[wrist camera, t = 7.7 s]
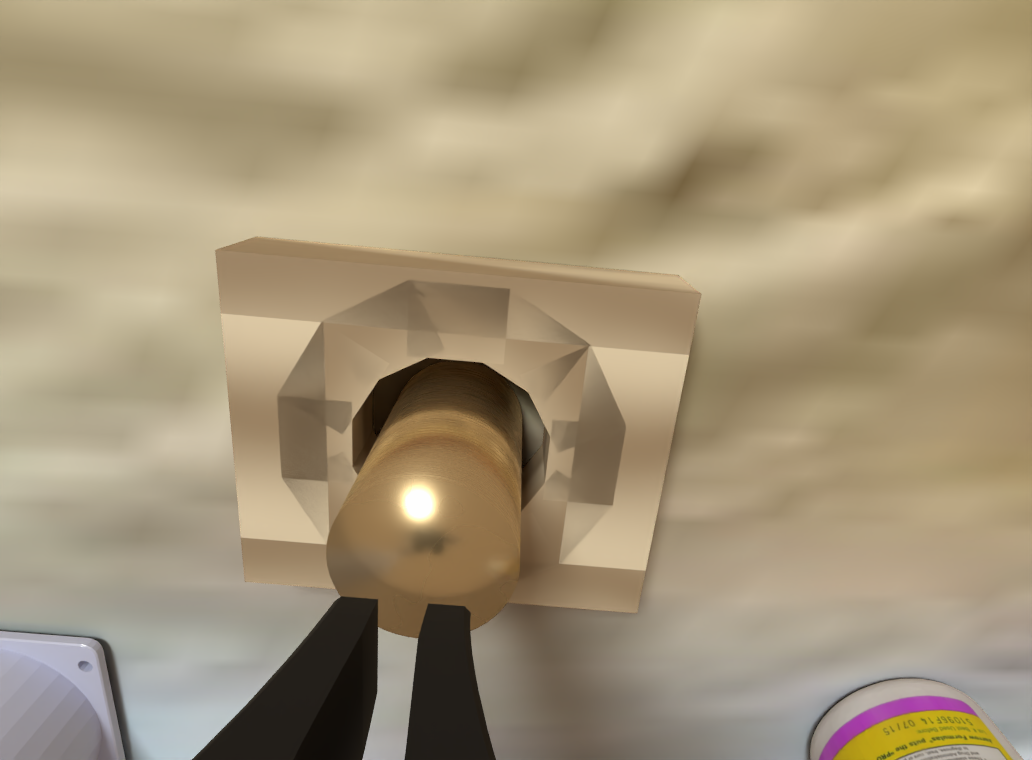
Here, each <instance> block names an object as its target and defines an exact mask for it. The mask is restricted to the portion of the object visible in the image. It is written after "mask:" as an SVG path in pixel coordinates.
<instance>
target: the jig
mask: <svg viewBox="0 0 1032 760" xmlns="http://www.w3.org/2000/svg"><path fill="white" fill-rule="evenodd" d="M215 252H216V263H217V274H218V285H219V297H220V308H221V319H222V330H223V342H224V353H225V364H226V375H227V387H228V398H229V409H230V420H231V432H232V443H233V454H234V465H235V477H236V488H237V499H238V510H239V522H240V533H241V544H242V555H243V567H244V578H245V582H255V583H268V584H280V585H293V586H305V587H317V588H330V589H336V588H335V586H334V584H333V582H332V580H331V577H330V574H329V571H328V567H327V560H326V544H327V539H328V534H329V532H330V529H331V527H332V524H333V522H334V520H335V518H336V516H337V514H338V513H339V511H340V509H341V507H342V505H343V503H344V501H345V499H346V497H347V495H348V493H349V491H350V489H351V488H352V486H353V484H354V482H355V480H356V478H357V476H358V474H359V472H360V470H361V468H362V466H363V464H364V463H365V461H366V459H367V457H368V455H369V453H370V451H371V449H372V447H373V445H374V443H375V441H376V439H377V436H376V434H375V433H374V431H373V388H374V386H375V385H376V383H377V382H378V380H379V379H381V378H383V377H386V376H388V375H390V374H392V373H395V372H397V371H399V370H401V369H404V368H406V367H408V366H410V365H412V364H415V363H417V362H419V361H421V360H424V359H426V358H436V359H448V360H459V361H470V362H482V363H484V364H486V365H487V366H489V367H490V368H492V369H494V370H495V371H497V372H498V373H500V374H501V375H503V376H504V377H506V378H507V379H509V380H510V381H512V382H513V383H515V384H516V385H518V386H519V387H521V388H522V389H524V390H525V391H527V392H528V393H529V395H530V397H531V399H532V401H533V403H534V405H535V407H536V409H537V411H538V413H539V415H540V417H541V419H542V421H543V423H544V425H545V427H544V436H543V444H542V446H541V447H540V448H539V449H538V451H537V452H536V453H535V454H534V456H533V457H532V458H531V459H530V460H529V462H528V463H527V464H526V465H525V467H524V468H523V469H522V472H521V532H520V572H519V578H518V582H517V585H516V588H515V590H514V592H513V594H512V596H511V598H510V600H509V601H508V602H507V603H516V604H528V605H541V606H553V607H566V608H578V609H590V610H603V611H615V612H628V613H637V611H638V606H639V601H640V596H641V591H642V586H643V581H644V576H645V571H646V566H647V561H648V556H649V552H650V547H651V542H652V537H653V532H654V527H655V522H656V517H657V512H658V507H659V502H660V497H661V492H662V487H663V482H664V477H665V472H666V467H667V462H668V457H669V452H670V447H671V442H672V438H673V433H674V428H675V423H676V418H677V413H678V408H679V403H680V398H681V393H682V388H683V383H684V378H685V373H686V368H687V363H688V358H689V353H690V348H691V343H692V338H693V333H694V328H695V324H696V319H697V314H698V309H699V304H700V299H701V293H699V292H698V291H697V290H696V289H695V288H693V287H692V286H691V285H690V284H688V283H687V282H686V281H685V280H684V279H682V278H681V277H680V276H679V275H670V274H659V273H648V272H637V271H626V270H615V269H604V268H593V267H582V266H571V265H560V264H549V263H538V262H527V261H517V260H506V259H495V258H484V257H473V256H462V255H451V254H440V253H429V252H418V251H407V250H396V249H385V248H374V247H363V246H352V245H341V244H330V243H320V242H309V241H298V240H287V239H276V238H265V237H254V238H251V239H248V240H245V241H241V242H238V243H235V244H232V245H229V246H226V247H223V248H220V249H217V250H215Z"/></svg>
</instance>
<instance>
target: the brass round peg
mask: <svg viewBox="0 0 1032 760" xmlns="http://www.w3.org/2000/svg"><path fill="white" fill-rule="evenodd" d="M521 472H522V411H521V407H520V403H519V401H518V398H517V396H516V394H515V393H514V391H513V389H512V388H511V387H510V385H509V384H508V383H507V382H506V381H505V380H504V379H503V378H502V377H501V376H500V375H498V374H497V373H495V372H494V371H492V370H491V369H489V368H487V367H485V366H482V365H480V364H476V363H473V362H468V361H454V360H453V361H444V362H440V363H436V364H433V365H431V366H428V367H426V368H425V369H423V370H421V371H420V372H418V373H417V374H415V375H414V376H413V377H412V378H411V379H410V380H409V381H408V383H407V384H406V385H405V386H404V388H403V390H402V392H401V393H400V395H399V397H398V399H397V401H396V403H395V405H394V407H393V409H392V411H391V412H390V414H389V416H388V418H387V420H386V422H385V424H384V426H383V428H382V430H381V432H380V434H379V436H378V438H377V439H376V441H375V443H374V445H373V447H372V449H371V451H370V453H369V455H368V457H367V459H366V461H365V463H364V464H363V466H362V468H361V470H360V472H359V474H358V476H357V478H356V480H355V482H354V484H353V486H352V488H351V489H350V491H349V493H348V495H347V497H346V499H345V501H344V503H343V505H342V507H341V509H340V511H339V513H338V514H337V516H336V518H335V520H334V522H333V524H332V527H331V529H330V532H329V534H328V539H327V544H326V560H327V567H328V571H329V574H330V577H331V580H332V582H333V584H334V586H335V588H336V590H337V591H338V593H339V595H340V596H344V597H356V598H369V599H378V627H380V628H382V629H384V630H386V631H389V632H392V633H395V634H398V635H403V636H407V637H413V638H418V637H419V633H420V630H421V626H422V622H423V619H424V615H425V612H426V609H427V605H428V603H431V604H443V605H456V606H465V607H466V608H467V609H468V610H469V611H470V612H471V618H470V631H471V630H474V629H476V628H478V627H480V626H482V625H483V624H485V623H487V622H488V621H489V620H491V619H492V618H493V617H495V616H496V615H497V614H498V613H499V612H500V611H501V610H502V609H503V608H504V606H505V605H506V604H507V602H508V601H509V600H510V598H511V596H512V594H513V592H514V590H515V588H516V585H517V582H518V578H519V572H520V532H521Z"/></svg>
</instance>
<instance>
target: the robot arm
mask: <svg viewBox="0 0 1032 760" xmlns="http://www.w3.org/2000/svg"><path fill="white" fill-rule="evenodd" d="M470 618H471V612H470V611H469V610H468V609H467V608H466V607H465V606H456V605H443V604H431V603H428V605H427V609H426V612H425V615H424V619H423V622H422V626H421V630H420V633H419V637H418V646H417V654H416V663H415V672H414V682H413V691H412V700H411V709H410V718H409V727H408V736H407V745H406V754H405V760H496V758H495V755H494V752H493V748H492V744H491V741H490V737H489V733H488V730H487V725H486V721H485V717H484V713H483V708H482V704H481V700H480V696H479V691H478V686H477V681H476V675H475V669H474V663H473V656H472V647H471V636H470ZM377 667H378V599H369V598H356V597H344V596H341V597H340V598H339V599H337V600H336V601H335V602H334V603H333V604H332V606H331V607H330V608H329V609H328V611H327V612H326V613H325V615H324V616H323V617H322V618H321V620H320V621H319V622H318V623H317V625H316V626H315V627H314V628H313V630H312V631H311V632H310V633H309V634H308V636H307V637H306V638H305V639H304V640H303V642H302V643H301V644H300V645H299V646H298V648H297V649H296V650H295V651H294V652H293V653H292V655H291V656H290V657H289V658H288V659H287V660H286V662H285V663H284V664H283V665H282V666H281V667H280V668H279V669H278V670H277V672H276V673H275V674H274V675H273V676H272V677H271V678H270V679H269V680H268V682H267V683H266V684H265V685H264V686H263V687H262V688H261V689H260V690H259V692H258V693H257V694H256V695H255V696H254V697H253V698H252V699H251V700H250V701H249V702H248V704H247V705H246V706H245V707H244V708H243V709H242V710H241V711H240V712H239V713H238V714H237V715H236V716H235V717H234V718H233V719H232V720H231V721H230V722H229V723H228V724H227V725H226V726H225V727H224V728H223V729H222V730H221V731H220V732H219V733H218V734H217V735H216V736H215V737H214V738H213V739H212V740H211V741H210V742H209V743H208V744H207V745H206V746H205V747H204V748H203V749H202V750H201V751H200V752H199V753H198V754H197V755H196V756H195V757H194V758H193V759H192V760H362V758H363V754H364V750H365V745H366V741H367V737H368V732H369V728H370V723H371V719H372V714H373V709H374V705H375V700H376V695H377ZM0 760H125V755H124V750H123V745H122V740H121V735H120V730H119V725H118V720H117V715H116V710H115V705H114V700H113V695H112V690H111V685H110V680H109V676H108V671H107V666H106V661H105V656H104V651H103V648H102V646H101V644H100V643H99V642H98V641H96V640H94V639H91V638H83V637H70V636H58V635H45V634H32V633H19V632H7V631H0Z"/></svg>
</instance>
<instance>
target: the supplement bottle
mask: <svg viewBox="0 0 1032 760" xmlns="http://www.w3.org/2000/svg"><path fill="white" fill-rule="evenodd" d="M810 760H1023V758H1022V757H1021V756H1020V755H1019V753H1018V752H1017V751H1016V750H1015V748H1014V747H1013V746H1012V745H1011V744H1010V742H1009V741H1008V740H1007V738H1006V737H1005V736H1004V735H1003V733H1002V732H1001V731H1000V730H999V729H998V727H997V726H996V725H995V724H994V722H993V721H992V720H991V719H990V718H989V716H988V715H987V714H986V713H985V712H984V711H983V709H982V708H981V707H980V706H979V705H978V704H977V703H976V702H975V701H974V700H973V699H972V698H970V697H969V696H967V695H966V694H964V693H963V692H961V691H959V690H958V689H955V688H953V687H951V686H949V685H946V684H943V683H940V682H936V681H932V680H926V679H895V680H888V681H884V682H880V683H877V684H873V685H870V686H868V687H865V688H863V689H860V690H858V691H856V692H854V693H852V694H851V695H849V696H848V697H846V698H844V699H843V700H841V701H840V702H839V703H837V704H836V705H835V706H834V707H833V708H832V709H831V710H830V711H829V712H828V713H827V714H826V715H825V716H824V717H823V718H822V720H821V721H820V723H819V724H818V726H817V728H816V730H815V732H814V735H813V737H812V741H811V747H810Z"/></svg>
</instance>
